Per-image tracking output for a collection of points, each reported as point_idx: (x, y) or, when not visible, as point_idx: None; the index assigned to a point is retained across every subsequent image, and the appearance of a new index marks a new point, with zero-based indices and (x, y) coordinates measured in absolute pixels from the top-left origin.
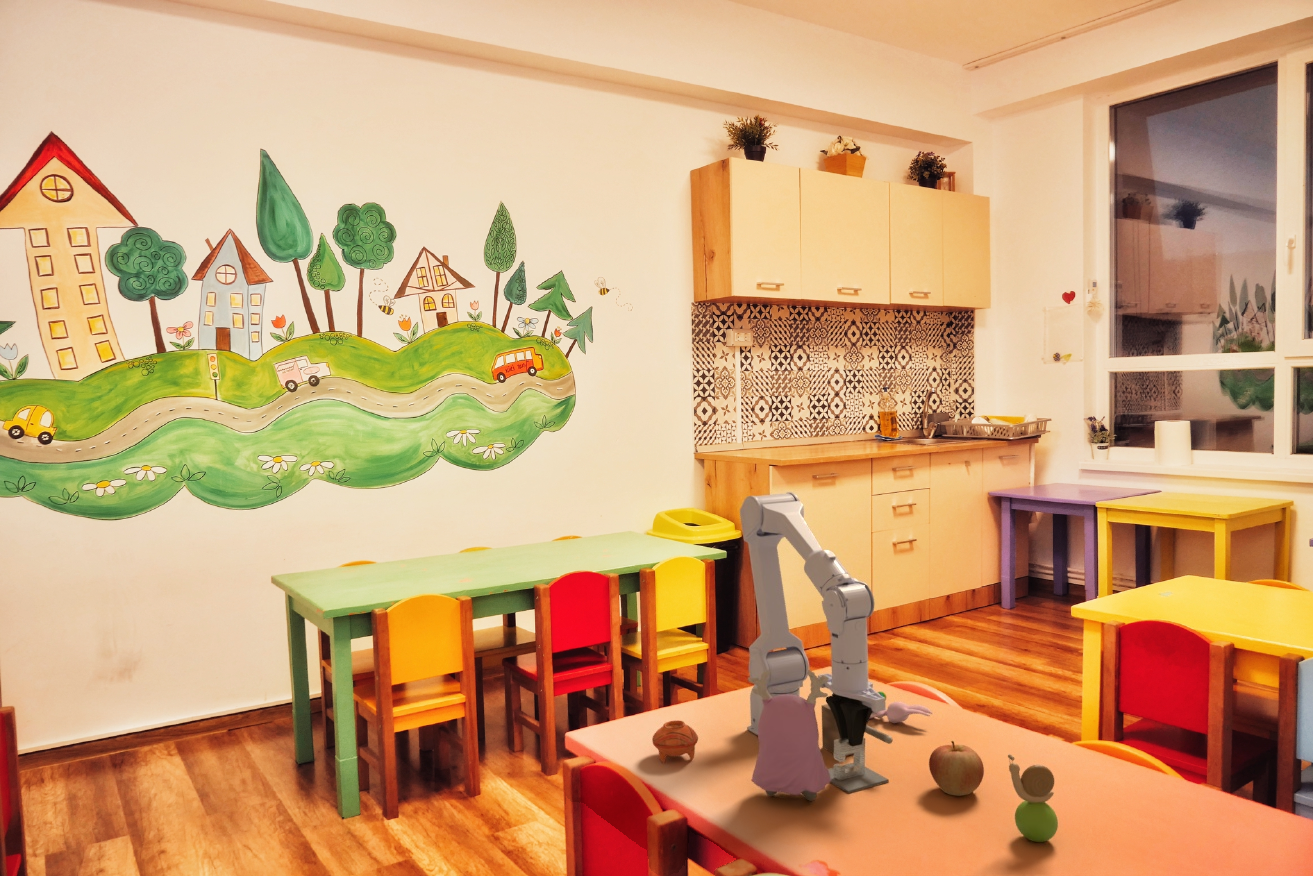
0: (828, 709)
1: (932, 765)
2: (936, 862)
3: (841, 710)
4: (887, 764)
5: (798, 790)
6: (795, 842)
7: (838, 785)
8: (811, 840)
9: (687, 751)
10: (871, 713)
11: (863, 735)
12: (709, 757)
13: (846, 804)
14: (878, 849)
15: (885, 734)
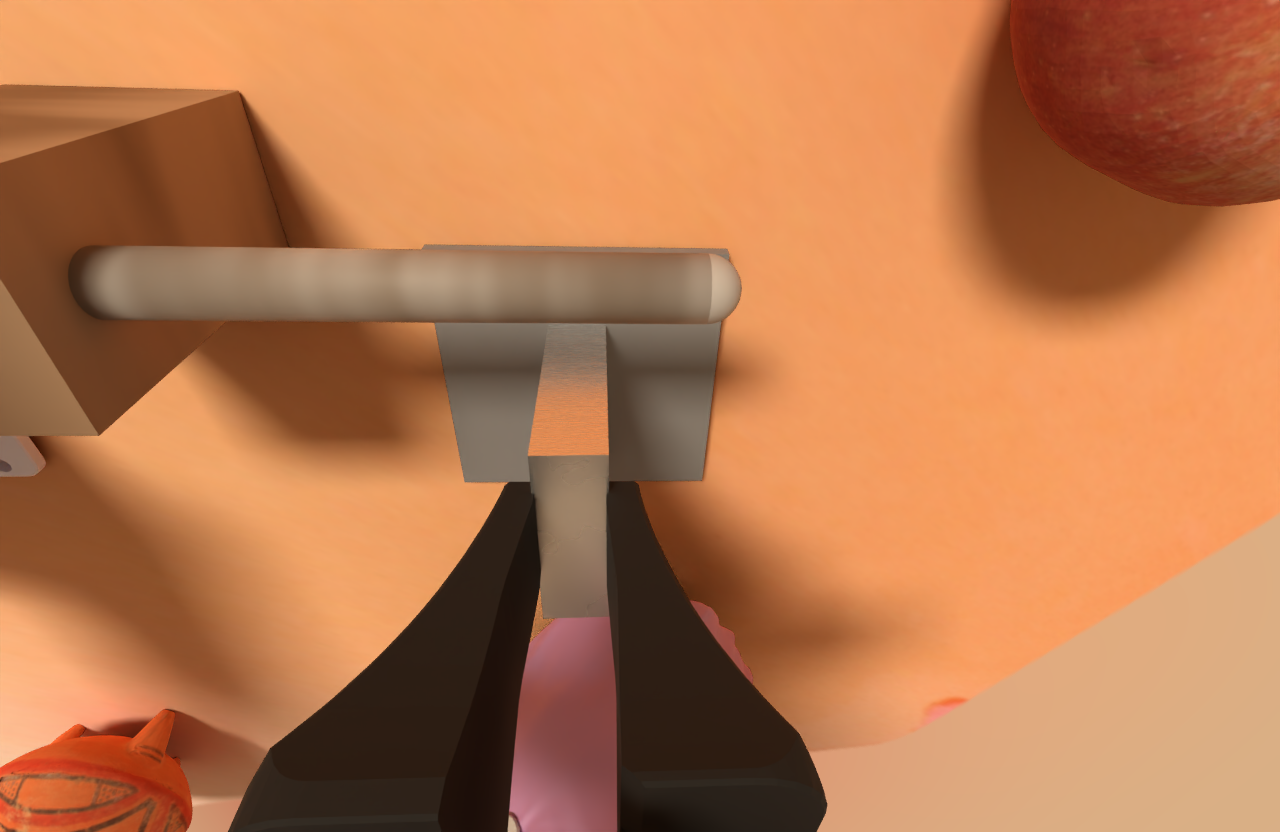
0: None
1: (1138, 186)
2: (1241, 524)
3: (505, 783)
4: (512, 53)
5: None
6: (833, 705)
7: (630, 479)
8: (856, 680)
9: (173, 767)
10: (745, 679)
11: (649, 524)
12: (154, 672)
13: (766, 522)
14: (1040, 595)
15: (663, 303)
